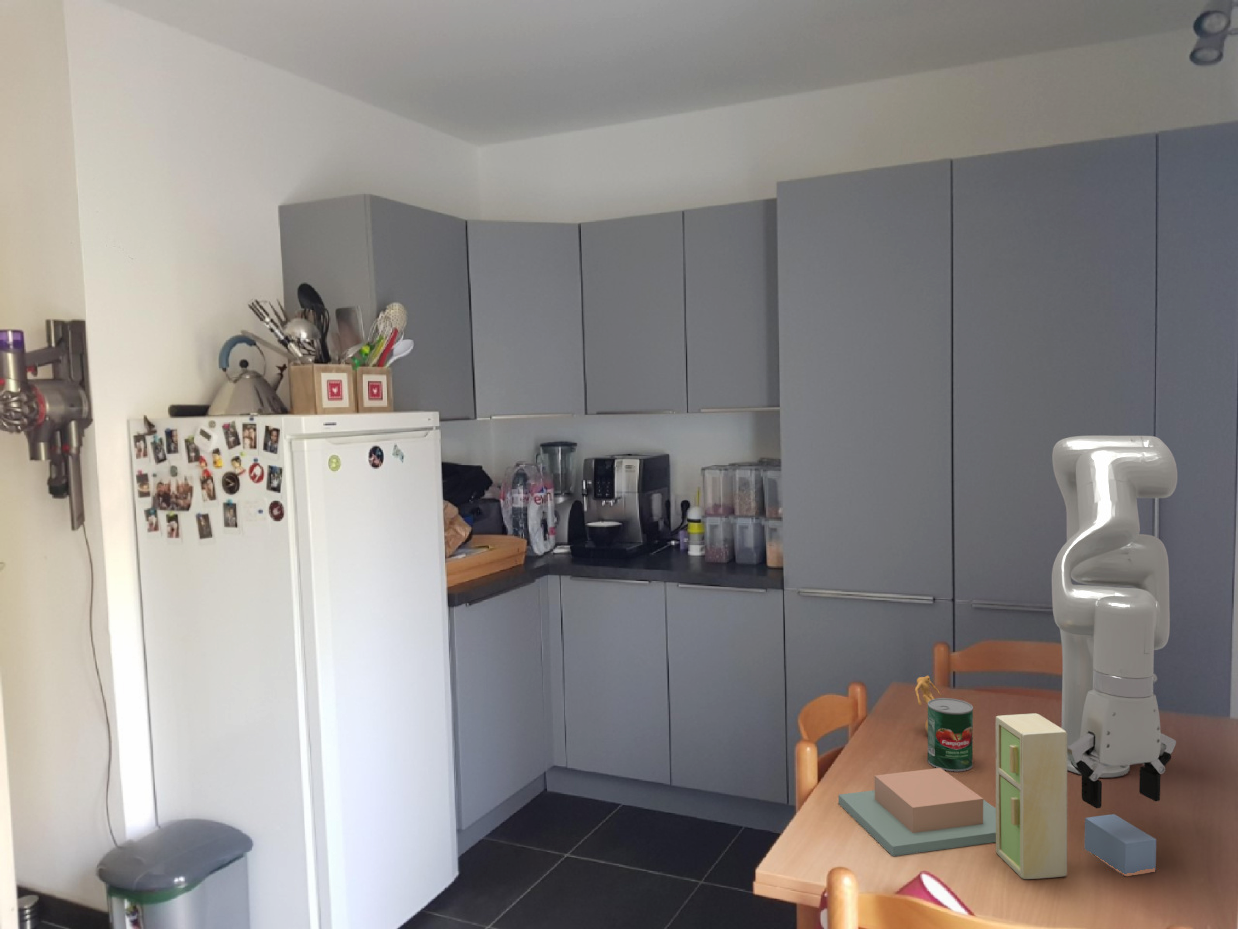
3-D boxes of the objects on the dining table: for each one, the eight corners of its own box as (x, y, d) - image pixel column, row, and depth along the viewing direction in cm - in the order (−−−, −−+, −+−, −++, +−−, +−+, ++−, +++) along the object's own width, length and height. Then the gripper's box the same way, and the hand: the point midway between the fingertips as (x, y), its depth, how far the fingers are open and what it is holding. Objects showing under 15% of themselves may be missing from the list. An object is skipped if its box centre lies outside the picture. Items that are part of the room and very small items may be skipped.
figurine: (935, 745, 175) (935, 684, 174) (906, 737, 179) (906, 678, 178) (955, 733, 180) (955, 675, 180) (927, 726, 185) (927, 668, 184)
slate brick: (1113, 846, 135) (1114, 814, 135) (1155, 873, 128) (1156, 839, 127) (1084, 850, 134) (1085, 818, 134) (1124, 878, 127) (1125, 843, 126)
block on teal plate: (956, 788, 156) (956, 757, 155) (1024, 838, 138) (1024, 803, 138) (838, 803, 151) (838, 771, 151) (892, 856, 133) (892, 820, 133)
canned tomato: (949, 751, 172) (949, 695, 171) (982, 766, 164) (982, 708, 164) (917, 759, 168) (918, 702, 167) (950, 775, 161) (950, 715, 160)
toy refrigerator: (989, 852, 134) (990, 715, 132) (1036, 849, 135) (1038, 712, 133) (1017, 881, 126) (1019, 735, 124) (1067, 877, 127) (1069, 732, 125)
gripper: (1153, 672, 134) (1151, 785, 135) (1051, 680, 131) (1050, 796, 132) (1195, 687, 127) (1193, 806, 128) (1089, 696, 123) (1087, 818, 124)
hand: (1120, 801), depth 130 cm, fingers open, 9 cm apart
